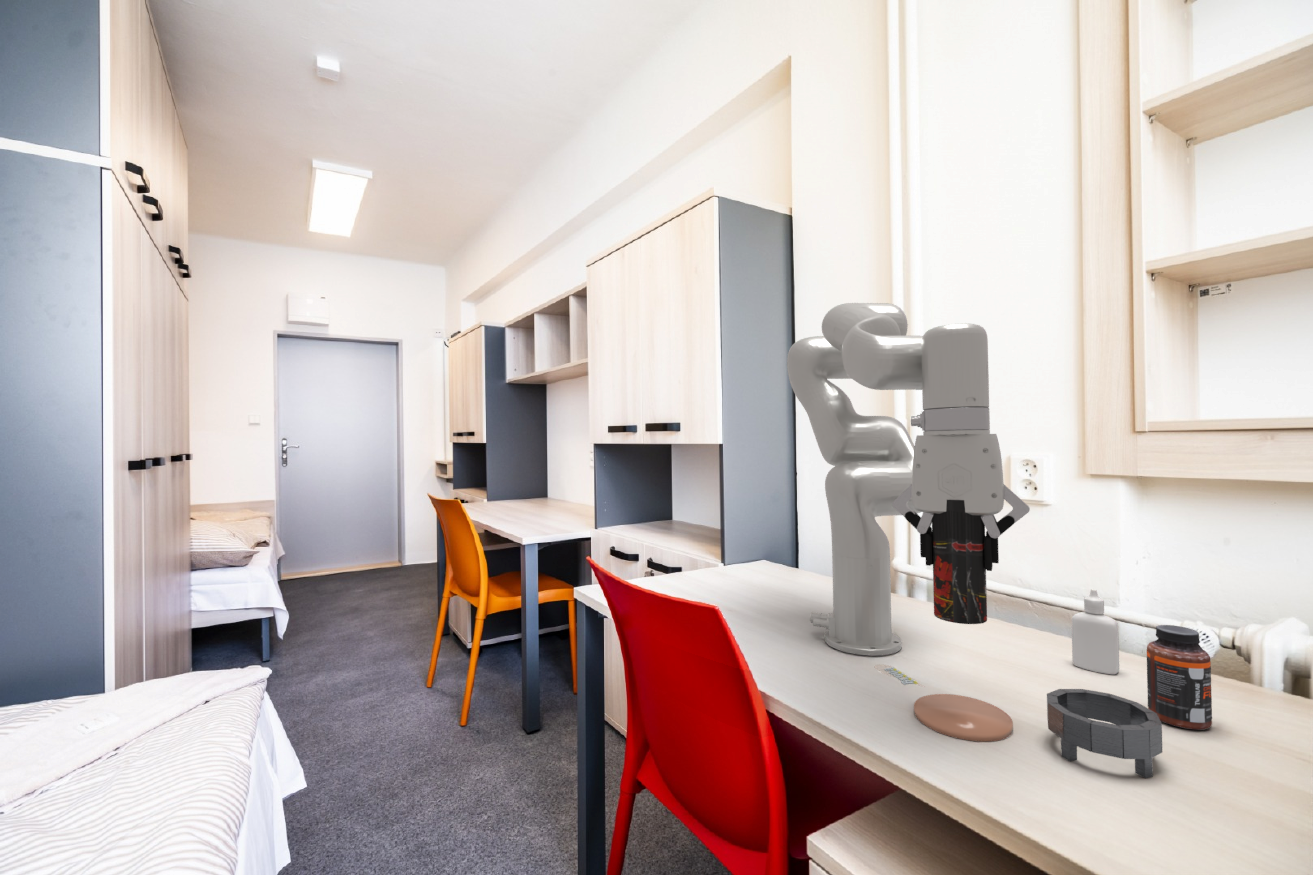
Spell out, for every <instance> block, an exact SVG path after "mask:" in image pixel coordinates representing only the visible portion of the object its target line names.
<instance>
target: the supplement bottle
mask: <svg viewBox="0 0 1313 875" xmlns="http://www.w3.org/2000/svg"><path fill="white" fill-rule="evenodd" d="M1155 636H1156V637H1157V639H1156V640H1153V641H1151V642H1149V643H1148V644H1147V646H1146V676H1147V677H1146V680H1147V681H1146V682H1147V683H1146V684H1147V708H1148V709H1150V710H1152V711H1153V712H1155V713H1156V714H1157V715H1158V717H1159V719H1160V721H1161V723H1164V724H1167V725H1170V726H1174V727H1175V728H1176V727H1177V728H1181V729H1186V730H1194V731H1203V730H1207V729H1209V728H1211V727H1212V725H1213V724H1212V721H1213V708H1212V707H1213V701H1212V700H1213V698H1212V666H1211V664H1212V663H1211V656H1210V654H1209V653H1208V652H1207V651H1206V650H1205V649H1203V648H1202V647H1201V645H1200V642H1201V640H1200V633H1199V632H1198V631H1197V630H1196V629H1192V628H1190V627H1185V626H1181V625H1174V624H1173V625H1171V624H1159V625H1156V627H1155Z"/></svg>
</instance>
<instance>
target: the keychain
mask: <svg viewBox="0 0 1313 875" xmlns="http://www.w3.org/2000/svg"><path fill="white" fill-rule="evenodd" d="M874 669H875V670H876V671H878V672H879V673H881V674H883V675H886V676H888V677H892V678H895V679H897V680H898V681H901V684H903V685H904V686H906V685H917V686H920V687H923V688H926V686H924V685H923V684H922V683H920V682H919V681H917V680H915V679H913V678H911V677H910V676H908V675H907V674H905V673H904V672H902V671H900V670H899V669H897V668H895V667H894V666H892V665H889V664H875V665H874Z"/></svg>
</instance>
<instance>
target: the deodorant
mask: <svg viewBox="0 0 1313 875" xmlns="http://www.w3.org/2000/svg"><path fill="white" fill-rule="evenodd" d="M931 528H932V543H933V564H932V582H933V583H932V584H933V585H932V588H933V589H932V590H933V592H932V593H933V616H934V617H936V618H937V619H939V620H941V621H945V622H949V623H955V624H959V625H960V624H962V625H979V624H980V625H981V624H985V623H986V622H987V621H988V604H987V602H988V598H987V594H988V592H987V569H985V554H984V538H985V536H986V527H985V525H984V523H983V521H982V518H981V515H971V514H968V513H966V512H965V504H964V500H947V505H946V512H943V513H940V514H936V513H933V518H932V524H931Z"/></svg>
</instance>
